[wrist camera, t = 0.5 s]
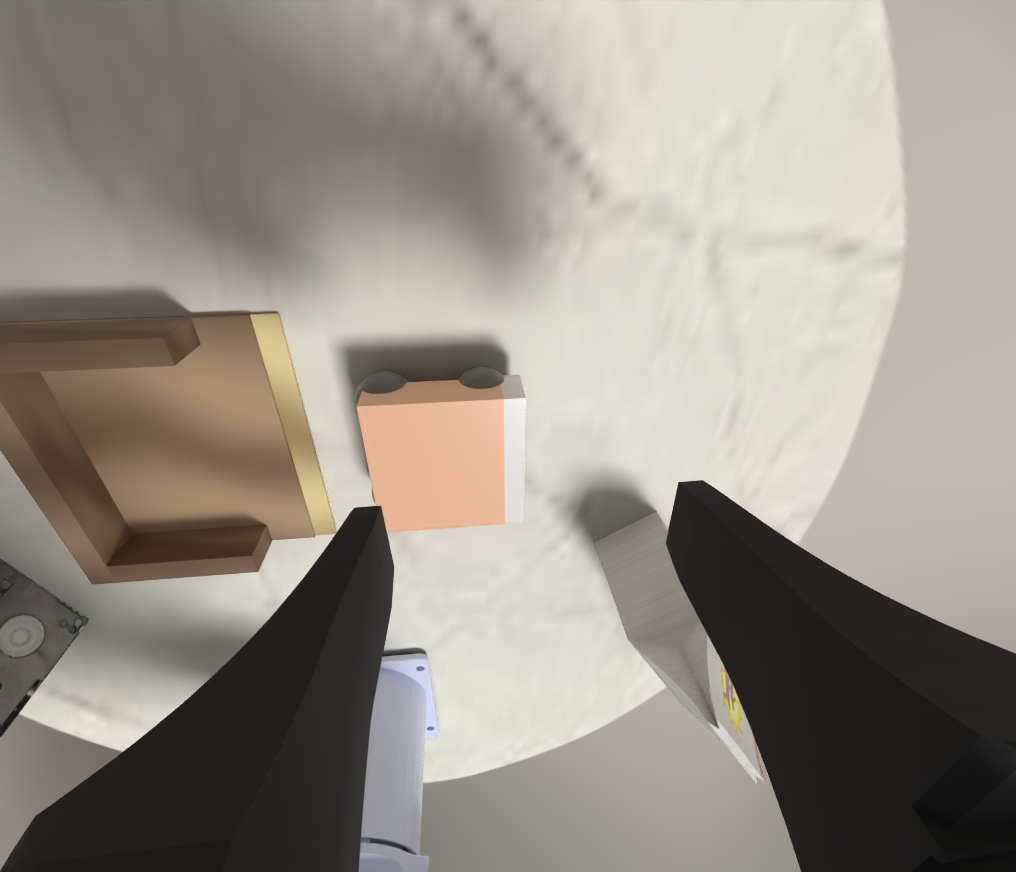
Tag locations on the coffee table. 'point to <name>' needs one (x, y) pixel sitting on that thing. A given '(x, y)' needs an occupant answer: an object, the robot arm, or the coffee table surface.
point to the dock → (161, 441)
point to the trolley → (444, 448)
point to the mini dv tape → (29, 638)
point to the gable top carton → (673, 633)
